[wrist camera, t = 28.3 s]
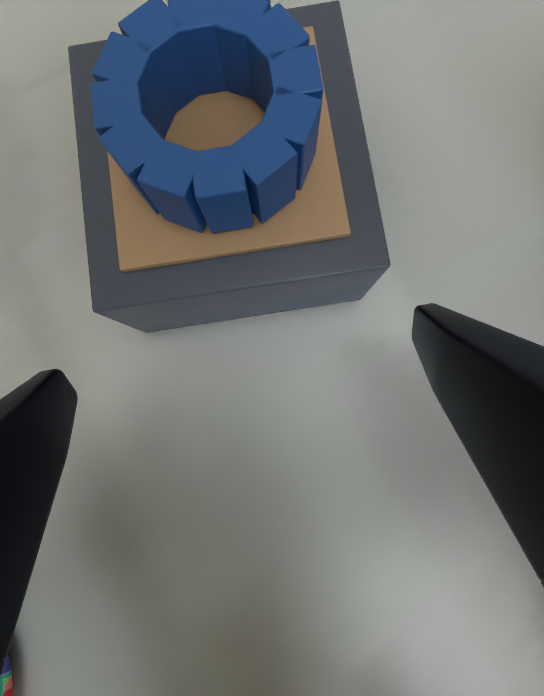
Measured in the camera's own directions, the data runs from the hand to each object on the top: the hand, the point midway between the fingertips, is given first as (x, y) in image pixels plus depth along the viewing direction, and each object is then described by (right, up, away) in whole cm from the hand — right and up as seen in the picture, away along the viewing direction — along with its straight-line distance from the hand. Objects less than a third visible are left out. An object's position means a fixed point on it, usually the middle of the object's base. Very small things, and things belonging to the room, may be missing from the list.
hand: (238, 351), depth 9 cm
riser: (-1, +7, +9) cm, 12 cm away
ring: (-1, +8, +4) cm, 9 cm away
